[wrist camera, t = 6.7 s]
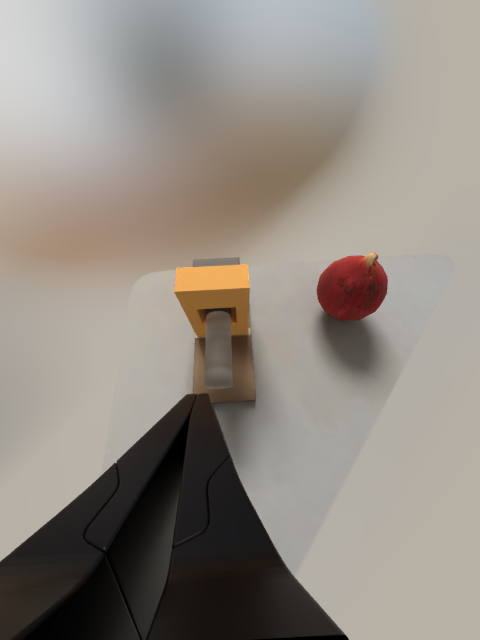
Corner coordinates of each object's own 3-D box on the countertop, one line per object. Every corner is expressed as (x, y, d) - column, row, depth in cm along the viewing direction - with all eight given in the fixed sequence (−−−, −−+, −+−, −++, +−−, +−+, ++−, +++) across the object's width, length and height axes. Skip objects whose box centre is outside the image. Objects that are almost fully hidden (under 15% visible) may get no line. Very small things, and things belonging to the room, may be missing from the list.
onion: (369, 332, 23) (427, 287, 16) (313, 333, 23) (345, 290, 16) (354, 285, 25) (398, 228, 18) (304, 287, 25) (328, 231, 18)
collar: (247, 334, 22) (249, 287, 15) (197, 337, 22) (174, 291, 15) (246, 316, 23) (247, 264, 16) (198, 318, 23) (176, 267, 16)
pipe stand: (255, 400, 20) (259, 388, 14) (193, 403, 20) (172, 392, 14) (247, 297, 25) (248, 256, 19) (198, 299, 25) (183, 260, 19)
